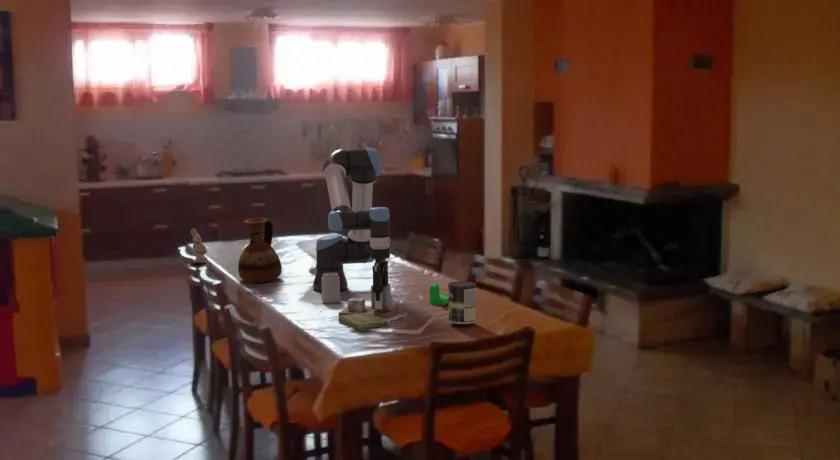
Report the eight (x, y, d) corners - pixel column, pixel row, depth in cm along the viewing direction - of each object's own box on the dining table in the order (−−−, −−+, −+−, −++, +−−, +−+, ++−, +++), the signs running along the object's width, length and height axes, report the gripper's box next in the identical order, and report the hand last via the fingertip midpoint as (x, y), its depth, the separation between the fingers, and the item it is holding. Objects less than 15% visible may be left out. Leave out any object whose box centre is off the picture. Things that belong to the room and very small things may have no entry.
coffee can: (450, 324, 342) (449, 286, 341) (446, 318, 353) (446, 281, 351) (478, 323, 343) (477, 285, 342) (474, 317, 353) (473, 280, 352)
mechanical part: (443, 305, 378) (443, 285, 377) (429, 304, 380) (429, 284, 379) (454, 299, 389) (454, 280, 388) (441, 298, 391) (441, 279, 390)
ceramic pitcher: (230, 283, 432) (227, 219, 428) (253, 276, 450) (251, 214, 447) (267, 286, 424) (265, 220, 421) (289, 278, 443) (287, 215, 439)
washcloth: (360, 332, 335) (360, 323, 334) (335, 323, 349) (335, 315, 349) (391, 326, 342) (391, 318, 342) (365, 318, 356) (365, 310, 356)
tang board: (338, 316, 358) (338, 302, 358) (349, 309, 372) (349, 295, 371) (388, 318, 354) (388, 304, 353) (398, 311, 367) (398, 297, 366)
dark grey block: (371, 309, 359) (371, 286, 358) (375, 306, 365) (375, 283, 364) (386, 309, 358) (386, 286, 357) (390, 306, 363) (390, 283, 362)
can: (343, 300, 389) (342, 272, 387) (335, 304, 382) (334, 275, 380) (326, 300, 391) (325, 271, 390) (318, 303, 384) (318, 274, 382)
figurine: (189, 266, 483) (188, 228, 481) (205, 264, 488) (203, 226, 486) (196, 268, 476) (194, 229, 474) (212, 266, 481) (210, 228, 479)
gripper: (382, 251, 348) (383, 312, 351) (396, 244, 367) (397, 302, 370) (363, 251, 350) (364, 311, 353) (377, 244, 368) (378, 301, 371)
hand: (381, 307), depth 361 cm, fingers open, 6 cm apart
